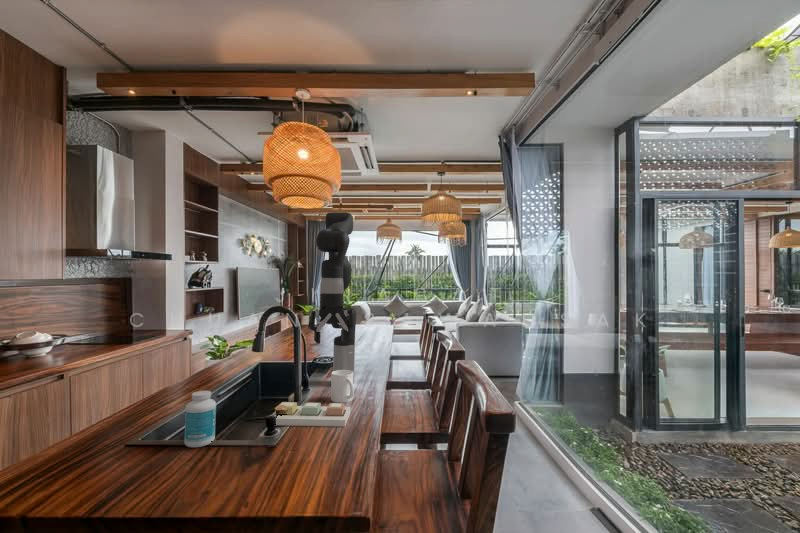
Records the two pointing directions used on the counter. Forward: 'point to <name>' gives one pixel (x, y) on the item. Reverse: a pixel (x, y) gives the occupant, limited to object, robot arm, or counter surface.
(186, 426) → the pill bottle
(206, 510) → the counter surface
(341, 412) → the key
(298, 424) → the keypad
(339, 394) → the mug
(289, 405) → the key
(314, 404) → the key
